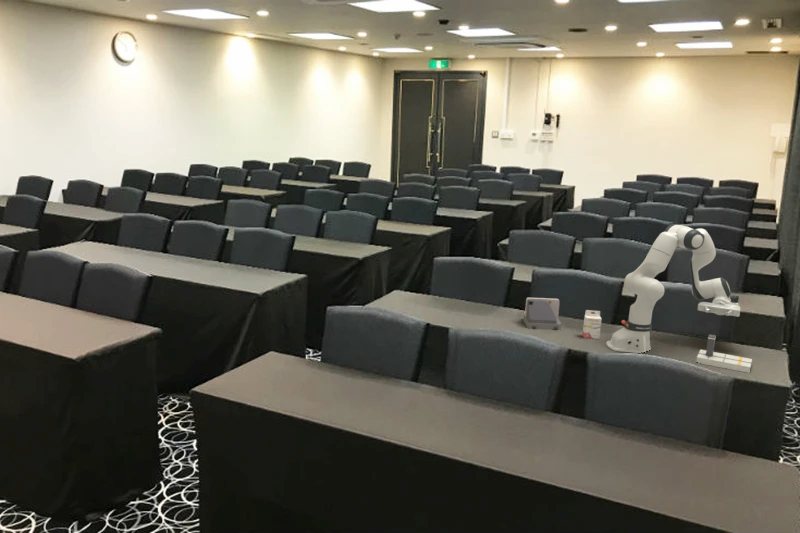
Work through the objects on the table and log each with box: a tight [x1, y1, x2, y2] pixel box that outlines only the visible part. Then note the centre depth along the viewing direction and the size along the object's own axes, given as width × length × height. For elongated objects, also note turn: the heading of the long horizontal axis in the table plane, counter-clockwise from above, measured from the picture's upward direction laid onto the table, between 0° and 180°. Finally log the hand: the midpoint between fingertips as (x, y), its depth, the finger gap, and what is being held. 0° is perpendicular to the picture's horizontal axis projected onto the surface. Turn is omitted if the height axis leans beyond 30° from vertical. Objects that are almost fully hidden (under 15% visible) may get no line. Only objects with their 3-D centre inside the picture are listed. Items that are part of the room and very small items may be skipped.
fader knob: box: [706, 333, 717, 356], centre depth 346 cm, size 3×4×12 cm
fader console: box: [695, 348, 753, 374], centre depth 344 cm, size 24×14×3 cm, turn 60°
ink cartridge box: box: [582, 309, 603, 340], centre depth 376 cm, size 9×5×15 cm, turn 84°
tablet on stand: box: [522, 297, 562, 331], centre depth 395 cm, size 21×21×15 cm
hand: (717, 312), depth 353 cm, fingers open, 8 cm apart
